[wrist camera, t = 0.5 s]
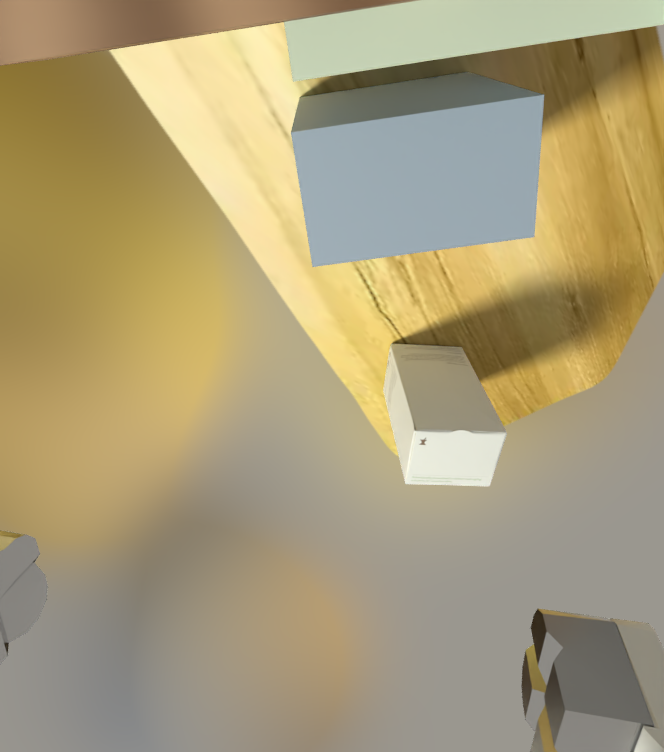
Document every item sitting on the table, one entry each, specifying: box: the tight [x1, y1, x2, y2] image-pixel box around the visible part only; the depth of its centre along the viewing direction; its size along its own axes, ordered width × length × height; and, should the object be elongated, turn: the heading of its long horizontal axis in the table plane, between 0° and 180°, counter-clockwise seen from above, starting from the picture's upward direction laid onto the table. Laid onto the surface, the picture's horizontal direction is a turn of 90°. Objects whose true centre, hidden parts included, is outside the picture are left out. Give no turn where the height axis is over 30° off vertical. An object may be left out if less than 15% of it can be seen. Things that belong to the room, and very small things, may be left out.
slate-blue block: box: [291, 72, 544, 267], centre depth 40 cm, size 14×8×18 cm, turn 98°
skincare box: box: [383, 344, 507, 486], centre depth 54 cm, size 8×7×16 cm
